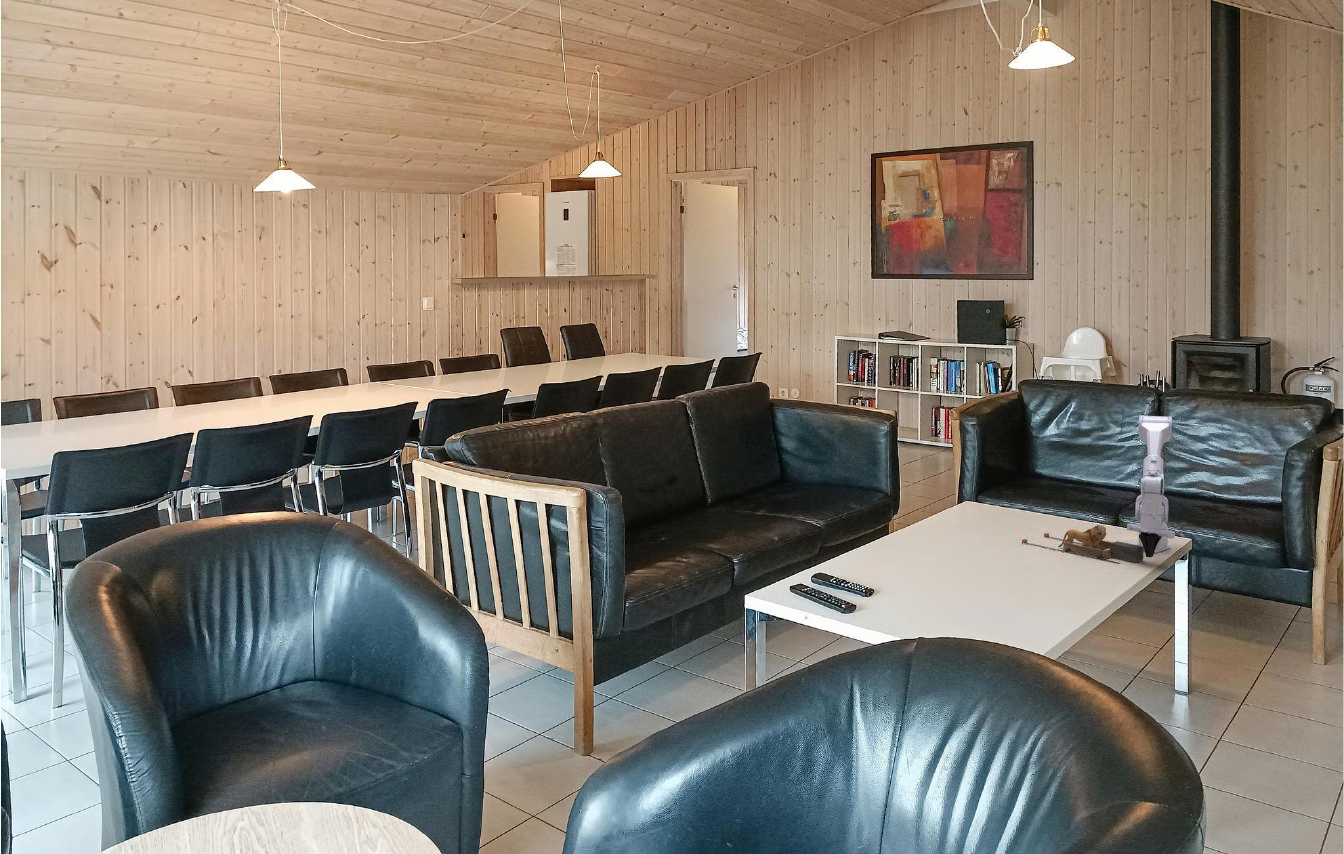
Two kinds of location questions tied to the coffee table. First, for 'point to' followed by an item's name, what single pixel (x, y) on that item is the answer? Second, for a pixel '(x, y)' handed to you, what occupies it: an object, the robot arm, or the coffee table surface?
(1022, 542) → the rail track
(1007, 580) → the coffee table surface
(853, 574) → the coffee table surface
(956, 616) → the coffee table surface
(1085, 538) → the lion figurine
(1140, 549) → the cart
